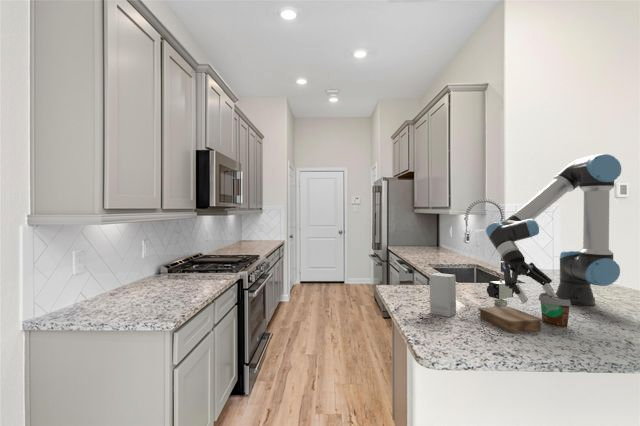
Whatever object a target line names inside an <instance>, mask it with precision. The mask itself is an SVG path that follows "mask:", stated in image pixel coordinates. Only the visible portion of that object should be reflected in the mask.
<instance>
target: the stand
mask: <svg viewBox="0 0 640 426" xmlns="http://www.w3.org/2000/svg"><path fill="white" fill-rule="evenodd" d="M478 310H479V311H480V315H479V318H480V320H482V321H484V322H487V323H489V324H490V323H491V325H493V326H495V327H497V328H499V329H501V330H503V331H505V332H507V333H524V332H525V333H526V332H527V333H529V332H541V331H542V321H543V319H542V317H541V318H540V317H538V316H535V315H532V314H530V313H526V312H524V311H522V310H519V309H518V308H514V307H512V306H506V307H494V306H493V307H492V306H489V307H485V306H484V307H478Z"/></svg>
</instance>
